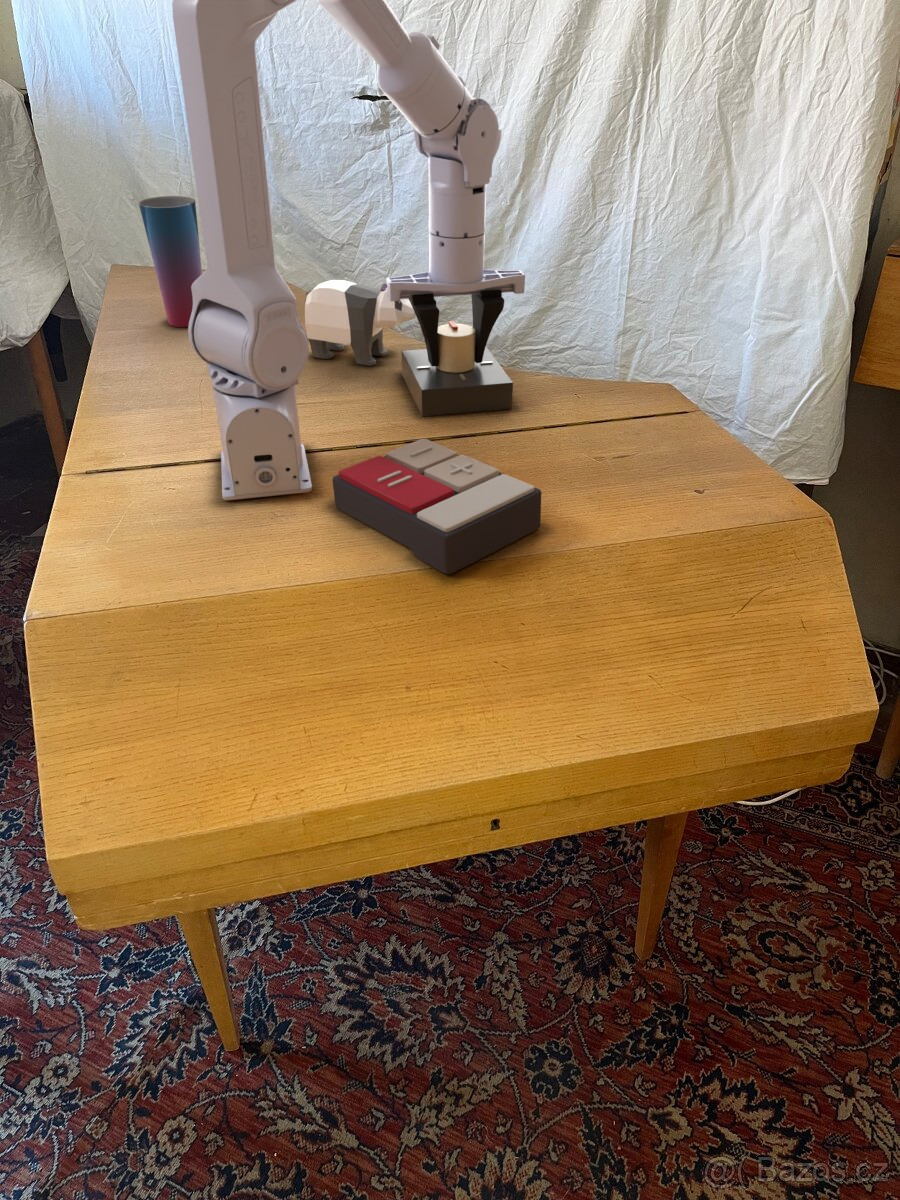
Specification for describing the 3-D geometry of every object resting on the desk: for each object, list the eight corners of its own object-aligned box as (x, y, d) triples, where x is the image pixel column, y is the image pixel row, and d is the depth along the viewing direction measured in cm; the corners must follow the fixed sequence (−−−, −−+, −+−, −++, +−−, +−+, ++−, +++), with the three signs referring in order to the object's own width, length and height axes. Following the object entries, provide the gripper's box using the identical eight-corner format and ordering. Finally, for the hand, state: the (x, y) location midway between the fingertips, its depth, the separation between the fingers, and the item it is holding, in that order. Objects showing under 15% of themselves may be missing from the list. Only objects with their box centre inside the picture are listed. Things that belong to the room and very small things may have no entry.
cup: (160, 315, 118) (138, 197, 109) (211, 311, 120) (193, 194, 111) (162, 331, 113) (139, 208, 104) (215, 327, 114) (197, 205, 106)
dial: (479, 371, 94) (480, 332, 92) (440, 374, 93) (440, 335, 91) (469, 357, 98) (470, 319, 95) (431, 359, 97) (431, 322, 94)
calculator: (424, 432, 80) (544, 481, 71) (426, 474, 82) (542, 527, 73) (328, 469, 74) (446, 528, 65) (333, 513, 76) (448, 576, 67)
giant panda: (301, 357, 106) (293, 277, 100) (322, 342, 110) (315, 265, 104) (411, 373, 102) (409, 291, 96) (428, 357, 106) (427, 278, 100)
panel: (511, 409, 94) (513, 381, 92) (421, 416, 92) (421, 388, 90) (484, 369, 103) (484, 343, 101) (402, 375, 101) (401, 349, 99)
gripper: (514, 219, 92) (508, 344, 100) (380, 225, 89) (385, 353, 97) (534, 235, 86) (525, 366, 94) (391, 242, 84) (395, 376, 92)
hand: (455, 361), depth 95 cm, fingers closed on dial, 4 cm apart
